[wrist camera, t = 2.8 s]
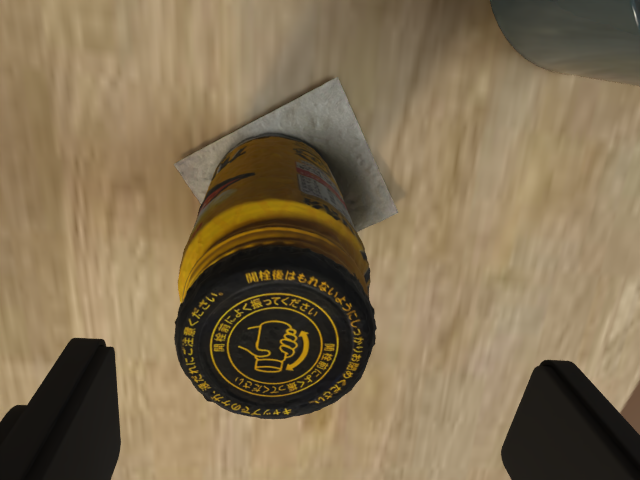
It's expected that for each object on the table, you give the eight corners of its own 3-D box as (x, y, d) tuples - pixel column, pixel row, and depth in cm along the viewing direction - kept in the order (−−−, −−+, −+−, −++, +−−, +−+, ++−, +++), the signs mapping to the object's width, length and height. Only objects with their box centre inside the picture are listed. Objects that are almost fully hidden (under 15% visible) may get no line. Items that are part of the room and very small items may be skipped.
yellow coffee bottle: (174, 163, 21) (74, 308, 10) (337, 76, 20) (416, 136, 9) (252, 280, 24) (240, 486, 13) (396, 210, 23) (507, 371, 12)
